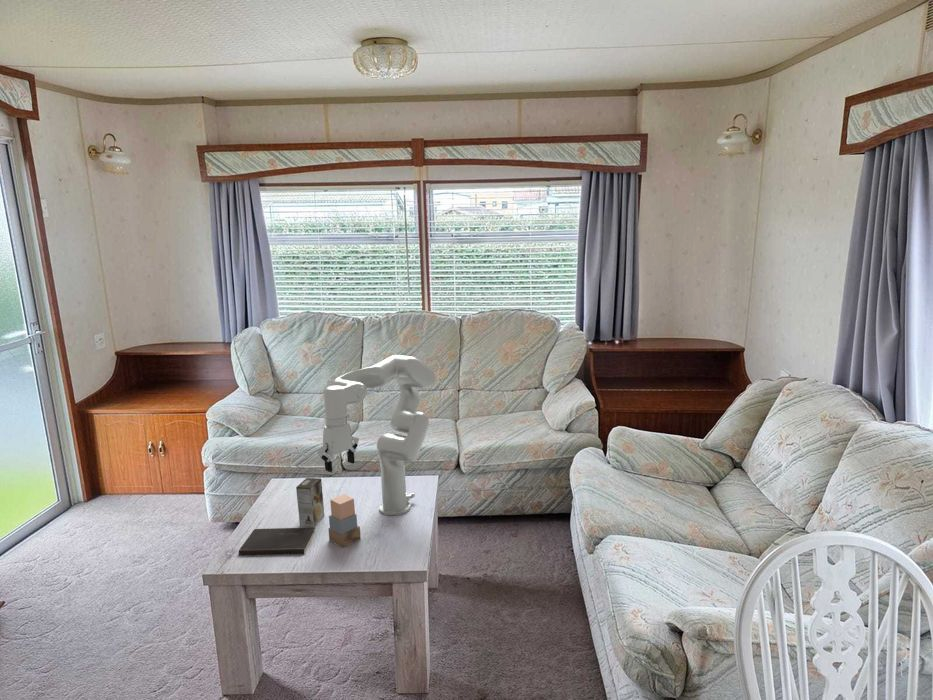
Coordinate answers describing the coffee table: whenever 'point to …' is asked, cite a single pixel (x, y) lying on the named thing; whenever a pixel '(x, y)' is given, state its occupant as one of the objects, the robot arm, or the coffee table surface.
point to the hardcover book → (277, 541)
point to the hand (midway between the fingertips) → (340, 466)
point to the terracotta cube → (342, 507)
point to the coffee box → (310, 501)
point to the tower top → (343, 524)
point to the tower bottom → (344, 537)
